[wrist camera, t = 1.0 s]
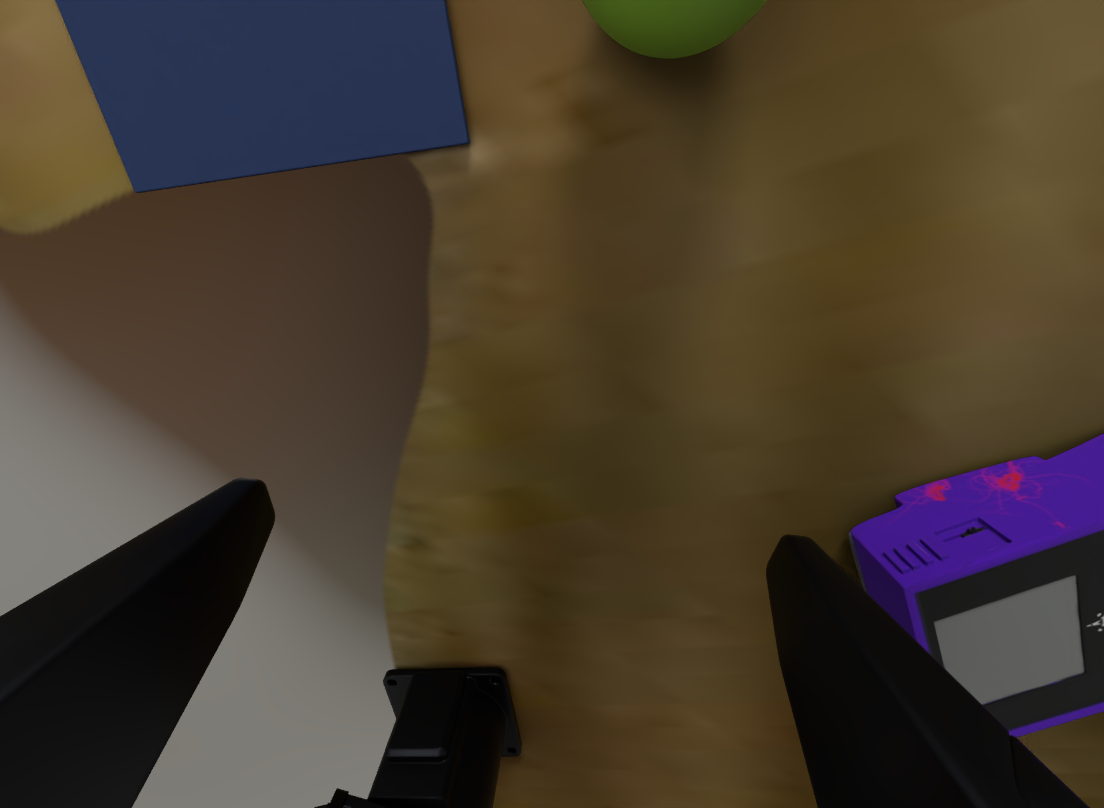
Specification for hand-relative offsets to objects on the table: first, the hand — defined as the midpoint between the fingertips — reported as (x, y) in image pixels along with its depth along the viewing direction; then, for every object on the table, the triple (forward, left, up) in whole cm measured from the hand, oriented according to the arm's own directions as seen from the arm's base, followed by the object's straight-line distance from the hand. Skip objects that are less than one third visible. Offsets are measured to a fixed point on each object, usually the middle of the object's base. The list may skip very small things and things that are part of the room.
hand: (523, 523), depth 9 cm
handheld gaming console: (-10, -19, -11) cm, 24 cm away
